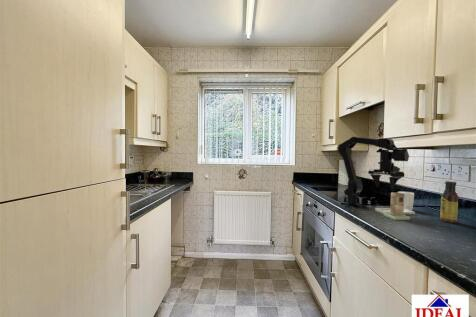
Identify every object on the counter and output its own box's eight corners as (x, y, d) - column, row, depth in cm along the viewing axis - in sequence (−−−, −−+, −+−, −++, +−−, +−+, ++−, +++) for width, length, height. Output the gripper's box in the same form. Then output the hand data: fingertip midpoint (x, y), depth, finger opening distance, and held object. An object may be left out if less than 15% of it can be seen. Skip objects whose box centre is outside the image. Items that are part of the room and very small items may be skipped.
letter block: (389, 215, 122) (391, 192, 122) (395, 215, 123) (396, 192, 123) (397, 217, 118) (398, 193, 118) (403, 217, 119) (404, 193, 119)
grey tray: (390, 210, 135) (390, 208, 135) (403, 211, 136) (403, 208, 136) (400, 214, 127) (400, 211, 127) (415, 214, 128) (415, 212, 128)
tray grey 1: (375, 210, 135) (375, 208, 135) (388, 210, 135) (388, 208, 135) (384, 214, 127) (384, 211, 127) (399, 214, 127) (399, 211, 127)
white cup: (406, 211, 135) (407, 193, 135) (393, 208, 143) (394, 191, 143) (416, 210, 137) (417, 193, 137) (404, 207, 145) (404, 191, 145)
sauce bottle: (439, 218, 121) (441, 180, 120) (456, 221, 117) (458, 181, 116) (440, 221, 116) (442, 181, 115) (457, 224, 112) (459, 182, 111)
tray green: (383, 215, 125) (383, 212, 125) (398, 215, 125) (398, 212, 125) (394, 219, 117) (394, 216, 117) (410, 220, 117) (410, 217, 117)
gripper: (412, 161, 128) (411, 190, 128) (382, 160, 145) (381, 185, 146) (396, 161, 124) (395, 191, 125) (368, 159, 142) (367, 185, 143)
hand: (384, 188), depth 135 cm, fingers open, 9 cm apart
